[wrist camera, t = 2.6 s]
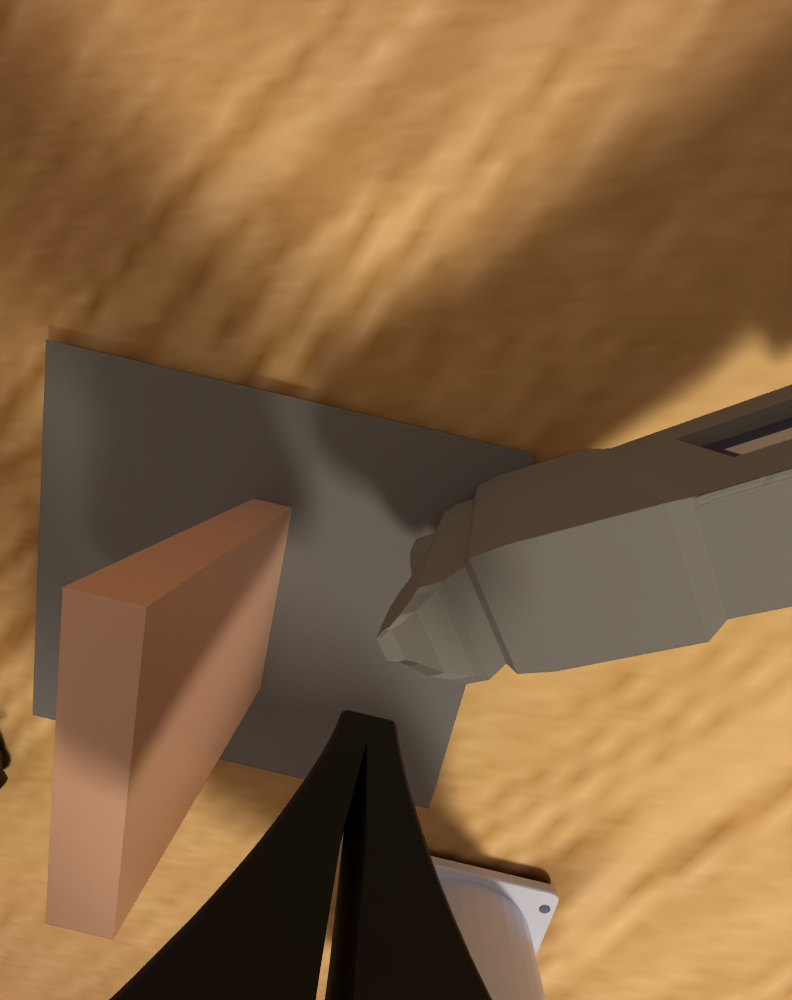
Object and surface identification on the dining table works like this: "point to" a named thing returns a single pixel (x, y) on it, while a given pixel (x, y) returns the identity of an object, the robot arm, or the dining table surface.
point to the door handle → (2, 772)
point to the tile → (152, 701)
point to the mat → (309, 546)
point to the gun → (606, 551)
